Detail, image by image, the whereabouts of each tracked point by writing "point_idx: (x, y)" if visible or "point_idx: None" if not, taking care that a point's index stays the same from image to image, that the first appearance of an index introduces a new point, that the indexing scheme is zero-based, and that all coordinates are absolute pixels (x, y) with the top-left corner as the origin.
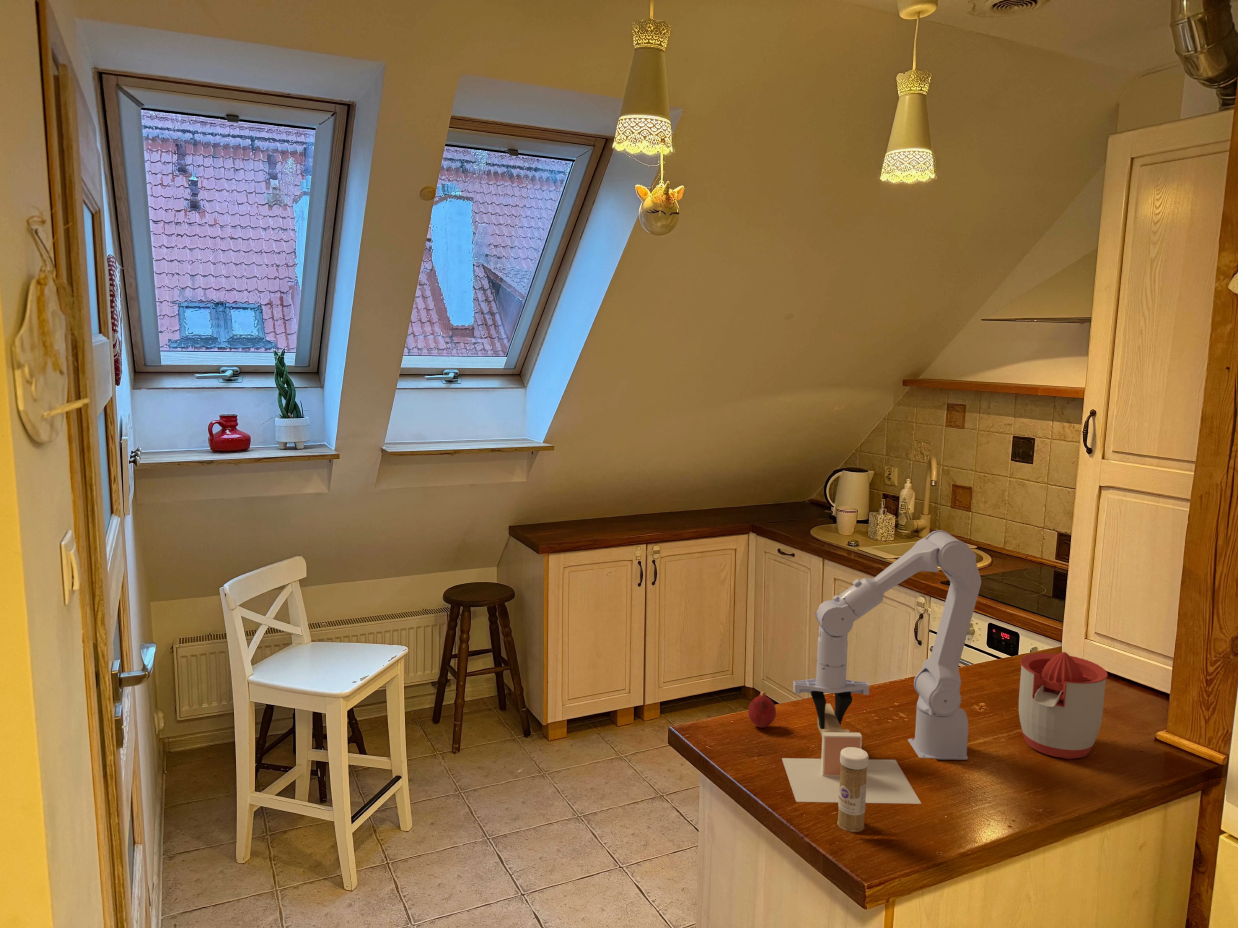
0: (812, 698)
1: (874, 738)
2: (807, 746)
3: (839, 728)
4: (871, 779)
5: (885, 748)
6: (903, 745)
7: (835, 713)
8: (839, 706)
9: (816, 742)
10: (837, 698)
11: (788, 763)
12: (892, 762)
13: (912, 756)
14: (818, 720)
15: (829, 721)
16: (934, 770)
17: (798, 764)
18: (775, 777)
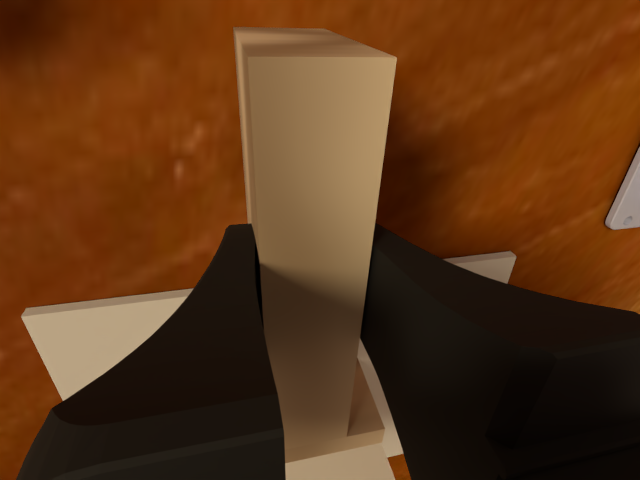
0: (129, 354)
1: (553, 27)
2: (162, 150)
3: (334, 430)
4: (376, 382)
5: (540, 141)
6: (628, 105)
7: (373, 274)
8: (408, 463)
9: (220, 95)
10: (446, 445)
11: (66, 350)
12: (495, 275)
13: (594, 200)
14: (239, 72)
15: (291, 380)
16: (592, 282)
17: (116, 349)
18: (25, 420)
